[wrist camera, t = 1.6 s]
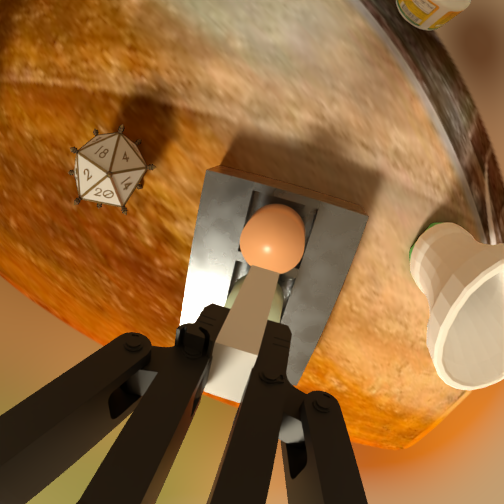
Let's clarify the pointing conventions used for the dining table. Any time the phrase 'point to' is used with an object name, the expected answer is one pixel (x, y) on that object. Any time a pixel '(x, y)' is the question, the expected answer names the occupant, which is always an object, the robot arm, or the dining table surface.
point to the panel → (292, 282)
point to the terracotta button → (273, 238)
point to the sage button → (276, 303)
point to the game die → (108, 169)
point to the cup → (462, 304)
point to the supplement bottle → (430, 12)
